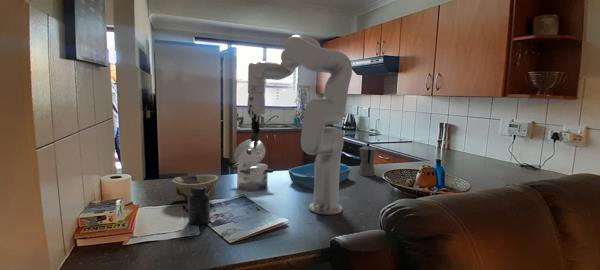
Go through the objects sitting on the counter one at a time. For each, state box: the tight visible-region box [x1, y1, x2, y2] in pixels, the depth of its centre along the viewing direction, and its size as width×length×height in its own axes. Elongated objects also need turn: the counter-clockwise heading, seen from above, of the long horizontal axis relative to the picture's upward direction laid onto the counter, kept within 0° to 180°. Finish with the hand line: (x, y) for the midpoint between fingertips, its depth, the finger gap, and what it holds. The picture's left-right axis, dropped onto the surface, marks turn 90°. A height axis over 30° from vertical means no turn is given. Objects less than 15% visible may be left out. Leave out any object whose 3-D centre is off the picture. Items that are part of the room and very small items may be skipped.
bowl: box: [171, 174, 219, 203], centre depth 130 cm, size 18×18×10 cm
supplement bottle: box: [187, 185, 211, 226], centre depth 109 cm, size 7×7×12 cm
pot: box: [232, 162, 274, 192], centre depth 151 cm, size 15×20×10 cm
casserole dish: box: [288, 162, 352, 190], centre depth 166 cm, size 37×22×7 cm, turn 140°
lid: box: [233, 128, 266, 168], centre depth 149 cm, size 20×15×2 cm
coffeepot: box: [357, 142, 377, 177], centre depth 182 cm, size 15×9×18 cm, turn 175°
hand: (255, 129), depth 152 cm, fingers closed
